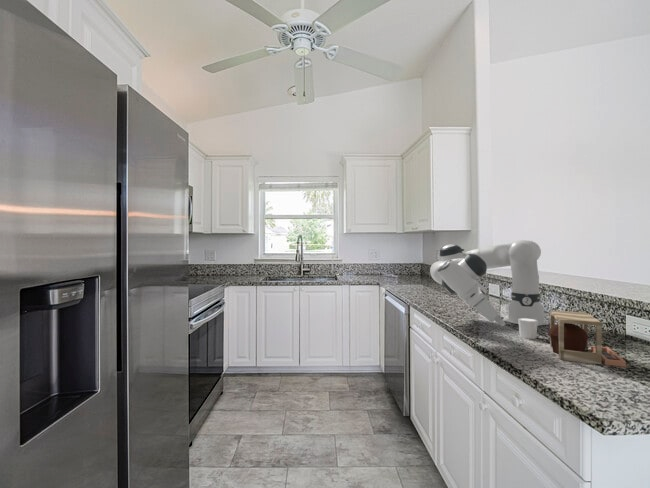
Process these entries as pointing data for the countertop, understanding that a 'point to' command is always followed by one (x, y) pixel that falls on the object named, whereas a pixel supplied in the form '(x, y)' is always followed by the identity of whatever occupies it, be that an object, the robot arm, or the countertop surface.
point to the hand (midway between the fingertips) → (503, 324)
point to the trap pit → (610, 357)
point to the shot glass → (527, 328)
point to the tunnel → (585, 320)
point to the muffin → (569, 338)
